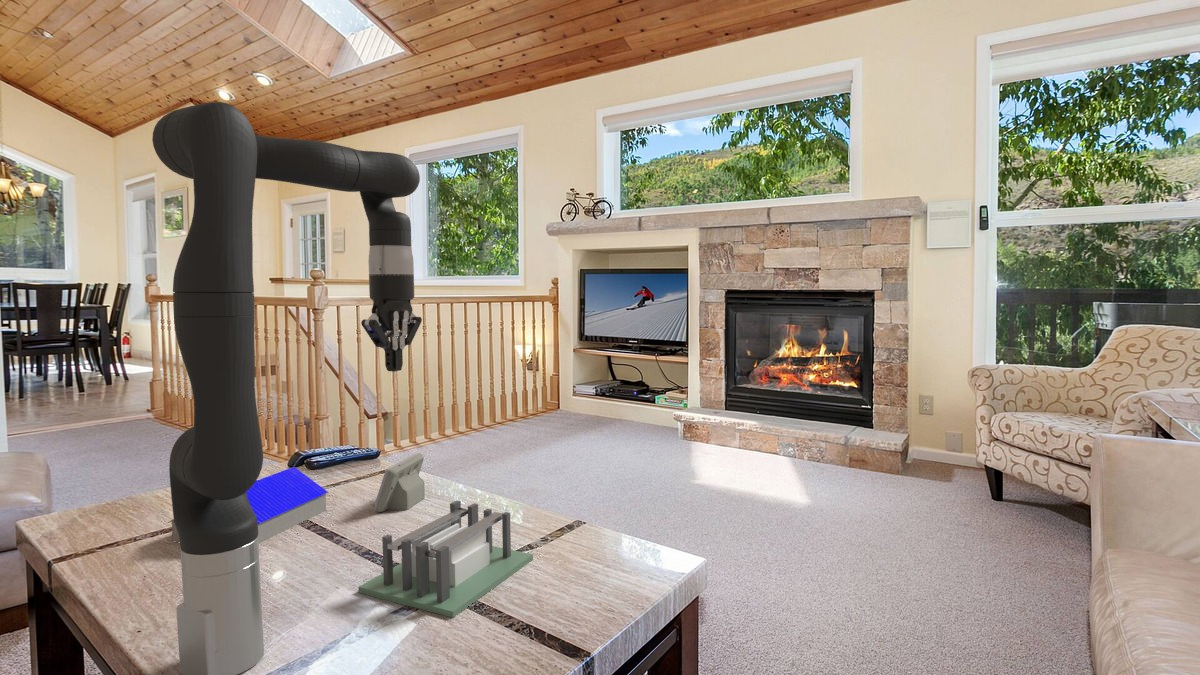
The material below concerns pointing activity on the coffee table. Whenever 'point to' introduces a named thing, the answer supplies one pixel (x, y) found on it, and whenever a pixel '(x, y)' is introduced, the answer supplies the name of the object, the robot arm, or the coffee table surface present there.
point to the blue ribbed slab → (281, 502)
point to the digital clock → (401, 485)
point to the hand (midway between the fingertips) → (394, 370)
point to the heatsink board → (447, 568)
